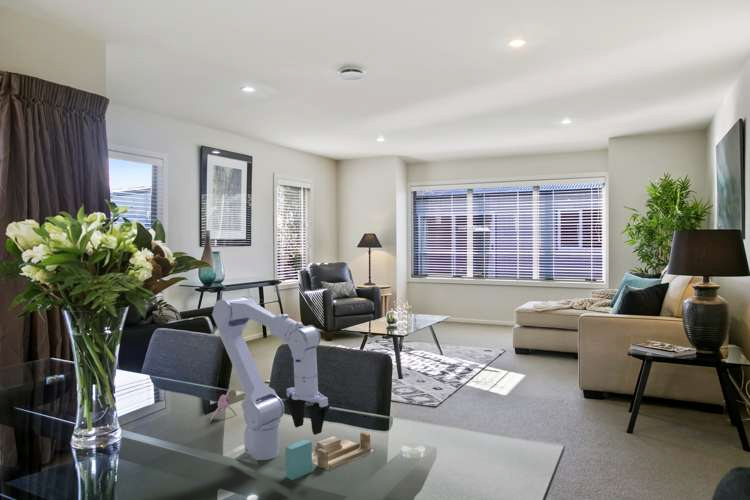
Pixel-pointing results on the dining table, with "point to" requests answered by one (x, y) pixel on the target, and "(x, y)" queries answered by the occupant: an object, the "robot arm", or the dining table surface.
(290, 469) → the teal panel
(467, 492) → the dining table surface
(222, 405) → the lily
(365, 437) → the birch rack
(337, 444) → the offcut stack
